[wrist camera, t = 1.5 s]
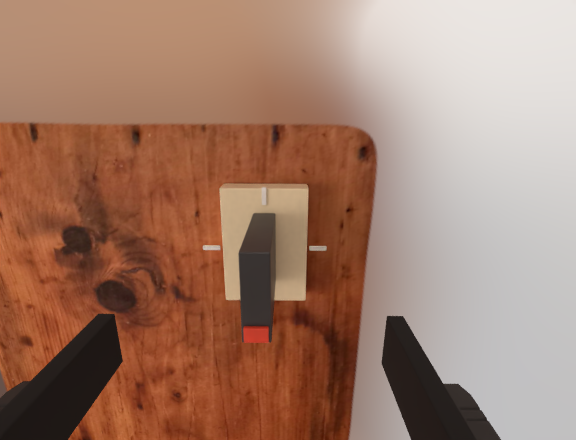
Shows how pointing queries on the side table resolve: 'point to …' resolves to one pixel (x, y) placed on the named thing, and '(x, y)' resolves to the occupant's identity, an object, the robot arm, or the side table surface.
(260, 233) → the thumbturn
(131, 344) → the side table surface
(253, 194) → the plate
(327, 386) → the side table surface
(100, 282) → the side table surface
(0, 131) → the side table surface
